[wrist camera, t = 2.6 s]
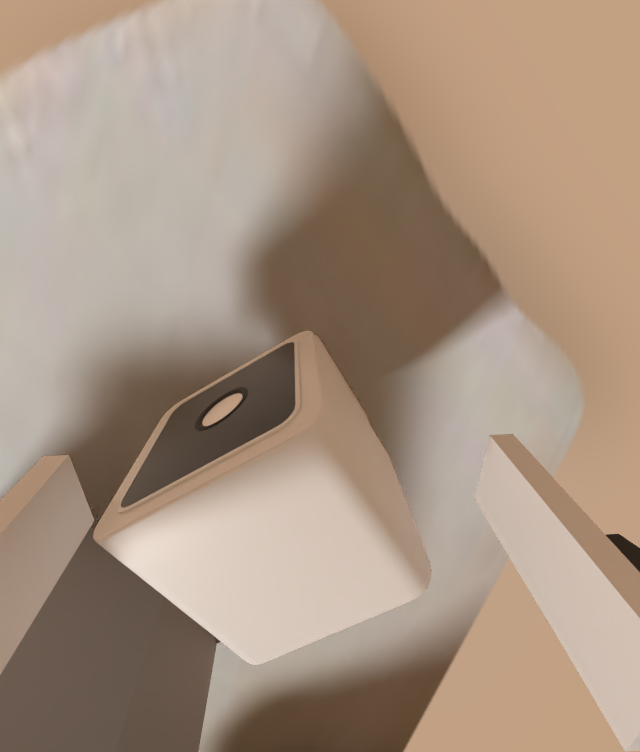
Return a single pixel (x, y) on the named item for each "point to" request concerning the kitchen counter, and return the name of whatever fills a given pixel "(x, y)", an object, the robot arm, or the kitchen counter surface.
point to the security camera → (269, 508)
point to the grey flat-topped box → (106, 667)
